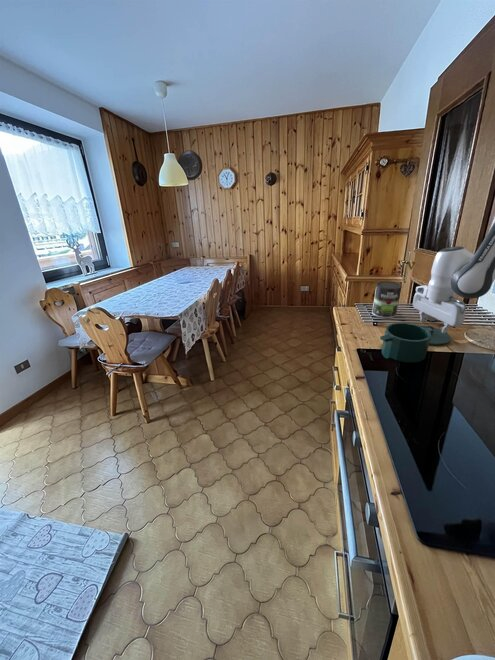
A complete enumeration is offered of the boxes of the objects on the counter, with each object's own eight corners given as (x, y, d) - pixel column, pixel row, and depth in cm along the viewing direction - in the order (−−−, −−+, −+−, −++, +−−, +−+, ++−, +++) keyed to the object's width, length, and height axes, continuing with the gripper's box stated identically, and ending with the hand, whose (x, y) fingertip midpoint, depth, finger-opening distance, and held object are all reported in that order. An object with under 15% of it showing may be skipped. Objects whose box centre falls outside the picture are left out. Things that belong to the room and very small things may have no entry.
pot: (441, 360, 96) (448, 335, 92) (391, 370, 93) (397, 345, 88) (411, 341, 108) (416, 319, 103) (367, 350, 104) (370, 327, 100)
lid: (460, 342, 105) (463, 332, 103) (426, 349, 103) (429, 339, 101) (429, 325, 118) (431, 316, 116) (398, 331, 115) (400, 322, 113)
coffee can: (398, 319, 125) (404, 288, 119) (373, 318, 128) (378, 288, 121) (393, 309, 134) (399, 281, 128) (370, 309, 136) (374, 280, 130)
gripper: (475, 300, 93) (463, 337, 100) (426, 283, 111) (420, 315, 118) (458, 303, 92) (448, 340, 99) (412, 286, 110) (406, 318, 117)
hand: (432, 326), depth 108 cm, fingers open, 8 cm apart
